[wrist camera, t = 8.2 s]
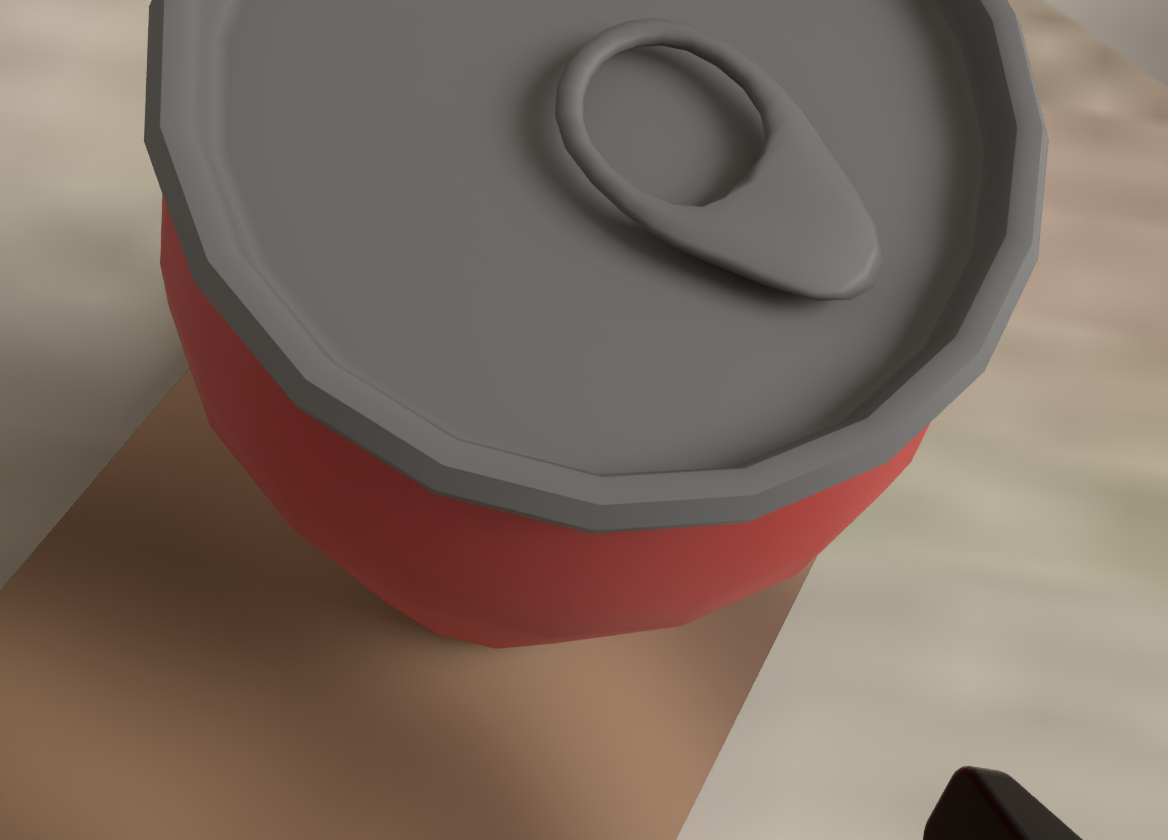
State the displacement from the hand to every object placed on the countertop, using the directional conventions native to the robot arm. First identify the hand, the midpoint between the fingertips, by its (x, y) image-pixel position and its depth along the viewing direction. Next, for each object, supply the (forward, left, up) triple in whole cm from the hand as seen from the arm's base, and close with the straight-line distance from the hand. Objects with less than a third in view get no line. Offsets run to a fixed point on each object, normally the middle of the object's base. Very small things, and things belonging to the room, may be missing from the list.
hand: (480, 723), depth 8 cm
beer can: (+4, +1, -8) cm, 9 cm away
